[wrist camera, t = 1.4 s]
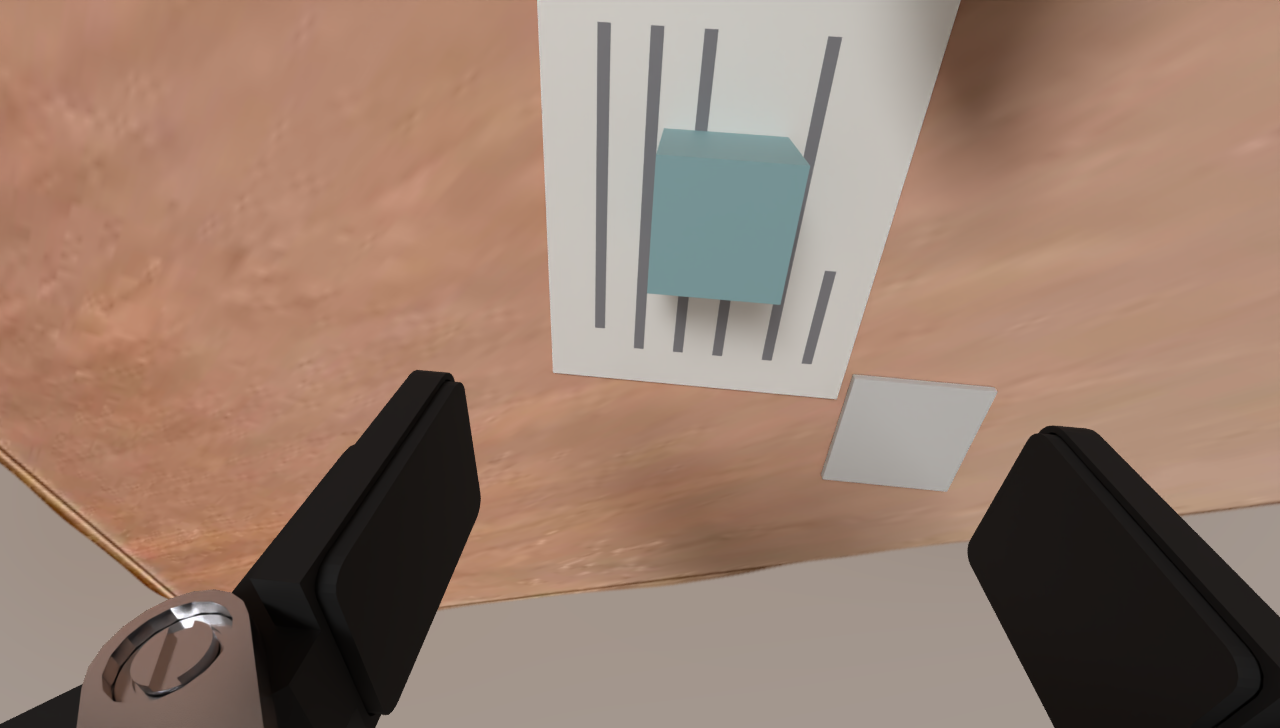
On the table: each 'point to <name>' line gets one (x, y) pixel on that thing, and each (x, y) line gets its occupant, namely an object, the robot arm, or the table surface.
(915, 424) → the mat
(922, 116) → the letter
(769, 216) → the teal block
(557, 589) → the table surface
